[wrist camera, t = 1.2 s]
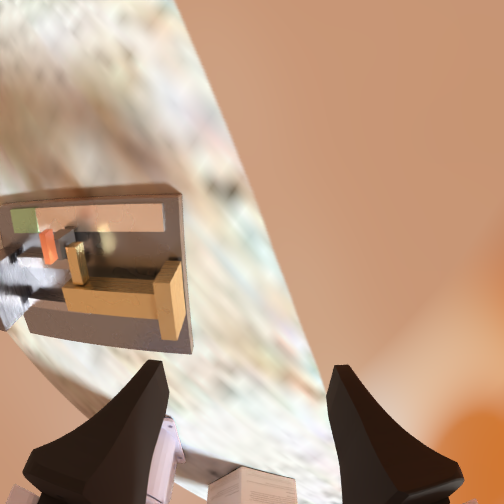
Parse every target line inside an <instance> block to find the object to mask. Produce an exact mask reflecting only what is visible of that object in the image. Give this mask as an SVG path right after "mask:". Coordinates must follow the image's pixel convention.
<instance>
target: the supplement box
mask: <svg viewBox="0 0 504 504" xmlns="http://www.w3.org/2000/svg"><path fill="white" fill-rule="evenodd" d="M207 504H298V503H297V492H296V481H295V479H291V478H286V477H282V476H277V475H273V474H269V473H265V472H261V471H257V470H254V469H250V468H247V467H243V466H242V467H240V468H238V469H237V470H235V471H233V472H231V473H230V474H228V475H226V476H224V477H222V478H221V479H219V480H217V481H215V482H213V483H211V484H209V486H208V497H207Z"/></svg>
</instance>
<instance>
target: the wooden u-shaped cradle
mask: <svg viewBox="0 0 504 504" xmlns="http://www.w3.org/2000/svg"><path fill="white" fill-rule="evenodd" d="M65 248H66V253H67V258H68V263H69V268H70V272H71V276H72V278H71V279H70V280H69V281H68V282H67V283H66V284H65V285H64V286H63V287H62V291H63V295H64V298H65V302H66V305H67V309H68V311H74V312H82V313H91V314H101V315H110V316H121V317H132V318H145V319H158V321H159V327H160V333H161V339H162V340H173V341H177V340H178V337H179V334H180V331H181V328H182V324H183V321H184V318H185V315H186V310H185V300H184V289H183V278H182V266H181V261H165V263H164V265H163V266H162V268H161V270H160V271H159V273H158V275H157V276H156V278H155V280H146V279H125V278H106V277H89V273H88V268H87V263H86V258H85V253H84V247H83V242H72V243H71V244H69V245H68V246H67V247H65Z"/></svg>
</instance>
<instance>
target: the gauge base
mask: <svg viewBox="0 0 504 504" xmlns="http://www.w3.org/2000/svg"><path fill="white" fill-rule="evenodd" d="M46 229H53V234H54V233H55V232H57V231H58V230H60V229H74V234H75V240H76V242H83V247H84V253H85V258H86V263H87V268H88V273H89V277H106V278H125V279H146V280H155V278H156V276H157V275H158V273H159V271H160V270H161V268H162V266H163V265H164V263H165V261H181V266H182V278H183V289H184V300H185V310H186V315H185V318H184V321H183V324H182V328H181V331H180V334H179V337H178V340H177V341H173V340H162V339H161V333H160V327H159V321H158V319H145V318H132V317H121V316H110V315H101V314H91V313H82V312H74V311H68V309H67V305H66V302H65V298H64V295H63V291H62V287H63V286H64V285H65V284H66V283H67V282H68V281H69V280H70V279H71V278H72V276H71V272H70V268H69V263H68V258H67V257H66V258H65V259H64V260H56V261H55V262H54V263H52V264H51V265H49V264H45V261H44V256H43V252H42V247H41V242H40V237H39V234H40V233H41V232H43V231H44V230H46ZM0 233H1V238H2V242H3V247H4V248H3V249H1V250H0V330H2V331H7V330H8V329H9V328H10V327H11V326H12V325H13V324H14V323H15V322H16V321H17V320H18V319H19V318H20V316H21V315H22V314H23V315H24V317H25V320H26V323H27V325H28V328H29V331H30V333H34V334H39V335H44V336H49V337H54V338H60V339H65V340H71V341H77V342H83V343H90V344H97V345H104V346H111V347H119V348H127V349H136V350H145V351H155V352H166V353H179V354H192V351H193V347H194V345H193V336H192V327H191V317H190V307H189V296H188V284H187V272H186V258H185V243H184V226H183V205H182V194H158V195H124V196H100V197H82V198H66V199H51V200H39V201H27V202H16V203H6V204H1V205H0Z"/></svg>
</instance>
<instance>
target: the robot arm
mask: <svg viewBox="0 0 504 504" xmlns="http://www.w3.org/2000/svg"><path fill="white" fill-rule="evenodd" d="M168 397H169V389H168V385H167V380H166V376H165V372H164V368H163V363H162V361H158V360H147V361H146V363H145V364H144V365H143V366H142V367H141V368H140V370H139V371H138V372H137V373H136V374H135V376H134V377H133V378H132V379H131V380H130V381H129V382H128V383H127V385H126V386H125V387H124V388H123V389H122V390H121V391H120V392H119V393H118V394H117V395H116V396H115V397H114V398H113V399H112V400H111V401H110V402H109V403H108V404H107V405H106V406H105V407H104V408H103V409H101V410H100V411H99V412H98V413H97V414H95V415H94V416H93V417H92V418H90V419H89V420H88V421H86V422H85V423H84V424H82V425H81V426H79V427H78V428H76V429H75V430H73V431H72V432H70V433H68V434H66V435H64V436H63V437H61V438H59V439H57V440H55V441H53V442H51V443H48V444H46V445H43V446H41V447H39V448H36V449H33V451H32V452H31V454H30V456H29V458H28V460H27V463H26V465H25V467H24V469H23V475H24V476H25V478H26V479H27V480H28V481H29V482H31V483H32V484H33V485H34V486H35V487H36V488H37V489H38V490H40V491H41V492H42V493H41V496H40V497H39V496H37V495H35V494H34V493H32V492H30V491H28V490H26V489H24V488H22V487H20V486H18V485H16V484H14V485H13V488H12V490H11V492H10V495H9V497H8V499H7V502H6V504H168V503H169V502H170V499H171V494H172V488H173V483H174V478H175V472H176V467H177V463H185V461H186V459H185V456H184V452H183V449H182V446H181V442H180V439H179V436H178V432H177V428H176V425H175V422H174V420H172V419H170V418H164V417H165V414H166V409H167V403H168ZM326 399H327V409H328V417H329V421H330V426H331V430H332V434H333V438H334V442H335V447H336V451H337V455H338V460H339V465H340V475H341V486H342V501H343V504H450V500H449V496H450V495H451V494H452V493H453V492H455V491H456V490H457V489H458V488H459V487H460V486H461V485H462V484H463V482H464V477H463V474H462V472H461V469H460V467H459V465H458V463H457V462H455V461H453V460H451V459H449V458H447V457H445V456H443V455H441V454H439V453H437V452H435V451H434V450H432V449H430V448H429V447H427V446H426V445H424V444H423V443H421V442H420V441H419V440H417V439H416V438H414V437H413V436H412V435H410V434H409V433H408V432H406V431H405V430H404V429H403V428H402V427H401V426H400V425H399V424H398V423H396V422H395V421H394V420H393V419H392V418H391V417H390V416H389V415H388V414H387V413H386V412H385V410H384V409H383V408H382V407H381V406H380V405H379V404H378V403H377V401H376V400H375V399H374V398H373V397H372V395H371V394H370V393H369V392H368V390H367V389H366V388H365V386H364V385H363V384H362V382H361V381H360V380H359V378H358V377H357V376H356V374H355V373H354V371H353V370H352V369H351V367H350V366H349V365H335V366H334V369H333V373H332V377H331V380H330V384H329V388H328V392H327V395H326ZM463 504H478V502H477V500H476V499H472V500H470V501H468V502H466V503H463Z"/></svg>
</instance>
